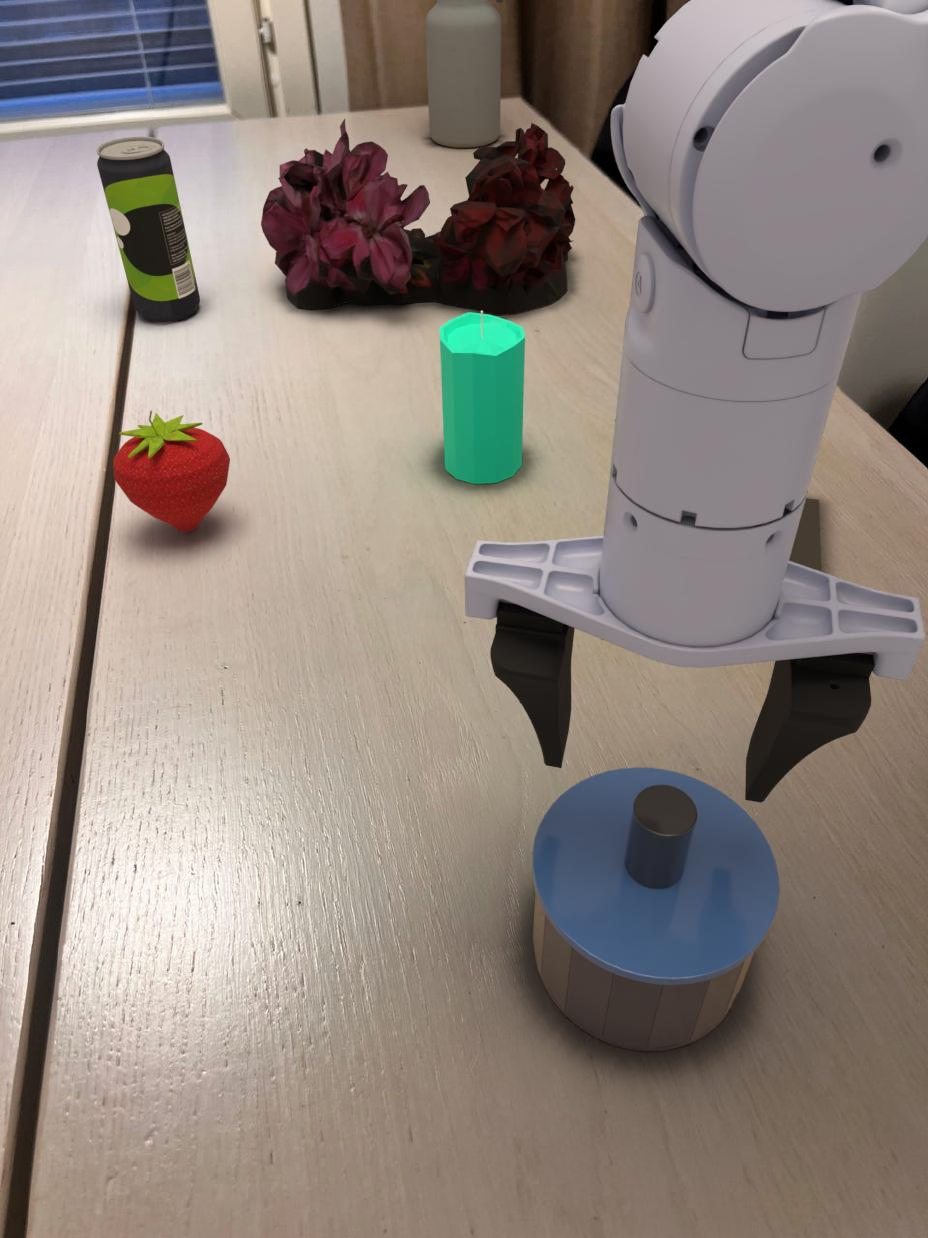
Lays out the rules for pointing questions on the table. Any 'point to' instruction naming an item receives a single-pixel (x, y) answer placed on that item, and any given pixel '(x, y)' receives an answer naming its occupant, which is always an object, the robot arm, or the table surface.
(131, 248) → the beverage can
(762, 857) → the lid
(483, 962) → the table surface
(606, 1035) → the pot
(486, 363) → the candle
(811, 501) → the mat
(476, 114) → the water bottle
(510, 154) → the flower arrangement
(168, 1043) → the table surface
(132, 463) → the strawberry
